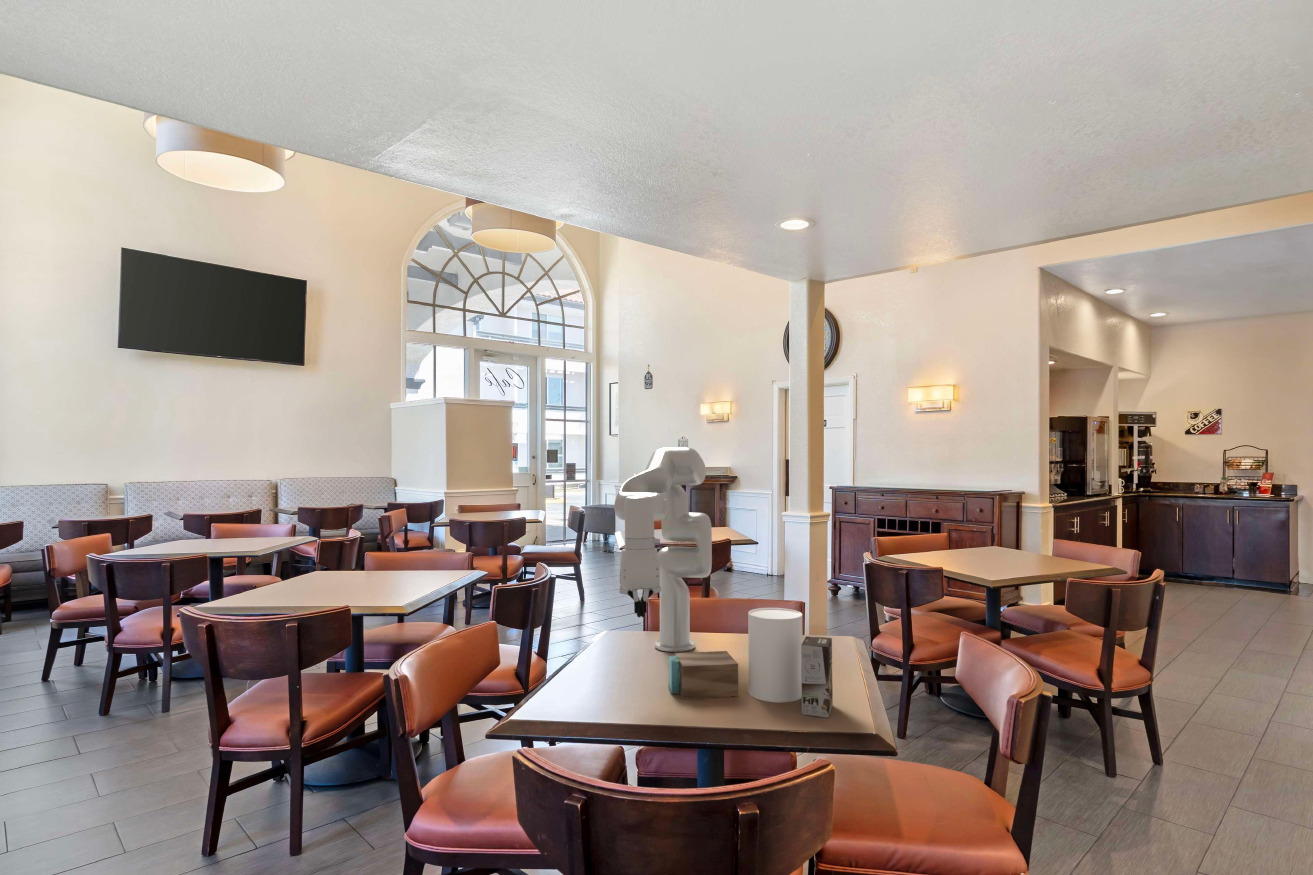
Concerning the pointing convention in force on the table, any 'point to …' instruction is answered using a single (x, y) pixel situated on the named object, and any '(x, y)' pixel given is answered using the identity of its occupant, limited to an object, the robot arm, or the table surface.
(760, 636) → the canister
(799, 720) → the table surface
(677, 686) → the peg
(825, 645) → the coffee box
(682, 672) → the block
